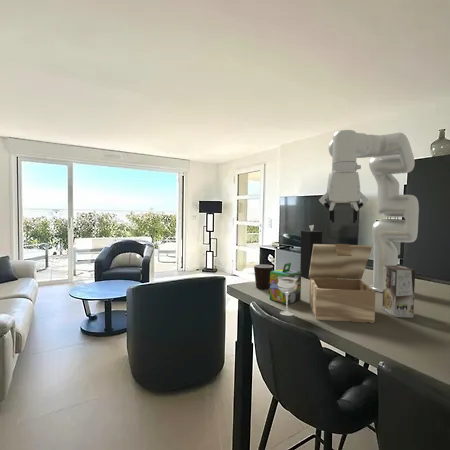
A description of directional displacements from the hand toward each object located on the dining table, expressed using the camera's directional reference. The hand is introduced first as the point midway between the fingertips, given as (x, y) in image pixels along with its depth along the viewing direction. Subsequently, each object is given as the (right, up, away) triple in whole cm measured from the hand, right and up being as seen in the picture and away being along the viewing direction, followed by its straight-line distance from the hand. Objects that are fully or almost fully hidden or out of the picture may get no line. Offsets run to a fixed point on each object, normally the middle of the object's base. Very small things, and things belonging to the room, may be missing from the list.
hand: (342, 222), depth 102 cm
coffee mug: (-23, -30, +35) cm, 52 cm away
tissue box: (+6, -29, +59) cm, 66 cm away
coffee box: (+20, -32, +3) cm, 38 cm away
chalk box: (-16, -31, +18) cm, 39 cm away
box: (0, -31, +3) cm, 32 cm away
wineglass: (-18, -32, +2) cm, 37 cm away
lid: (0, -17, +2) cm, 17 cm away
